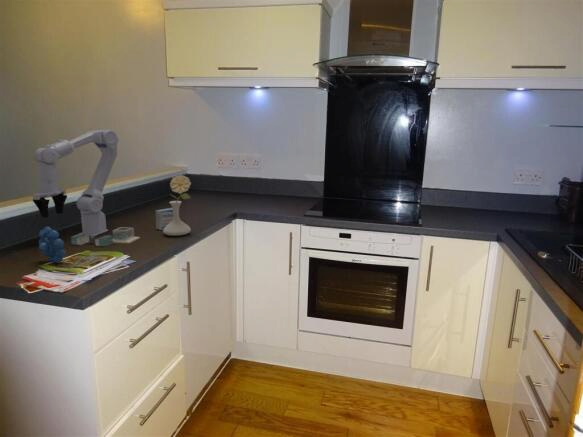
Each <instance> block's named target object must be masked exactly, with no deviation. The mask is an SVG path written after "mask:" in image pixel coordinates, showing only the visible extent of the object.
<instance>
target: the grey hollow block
mask: <svg viewBox="0 0 583 437" xmlns="http://www.w3.org/2000/svg"><path fill="white" fill-rule="evenodd" d="M112 237H113V240H117V241H128V240H130V239H132V238H135V237H136V236H135V228H134V227H129V226H125V227H124V226H120V227H116V228H115V229H112Z"/></svg>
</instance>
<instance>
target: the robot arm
mask: <svg viewBox="0 0 583 437" xmlns="http://www.w3.org/2000/svg"><path fill="white" fill-rule="evenodd" d="M91 143H93V144H94V145H95V146H96V147H97V148H98V150H100V152H101V157H100V158H99V161H98V164H97V166H96V168H95V169H94V170H95V171H94V173H93V175H92V178H91V180H90V182H89V185H88V187H87V188H86V189H85V190H83V192H82V194H81V195H80V196H79V197H78V198H77V199H76V207H77V209H78V210H80V216H81V217H80V220H81V229H82V230H81V231H82V232H79V233H78V234H85V235H89V236H95V237H96V236H99V235H101V234H104V233H106V232H109V229H107V221H106V220H107V219H106V215H105V213H104V212H103V211H102V209H103V208H104V207H103V206H104V205H103V203H104V199H105V197H104V195H103V191H104V189H105V188H104V187H105V185H106V182H107V181H108V179H109V176H110V173H111V171H112V168H113V166H114V163H115V161H116V158H117V155H118V143H119V138H118V135H117V133H116V131H115V130H113V129H99V128H98V129H94V130H90V131H88V132H86V133H83V134H82V135H79V136H77V137H75V138H73V139H71V140H67V139H61V138H60V139H58V140H57V142H54V143H52V144H47V145H46V147H40V148H37V149H36V151H35V153H34V155H33V159H34V161H35V162H36V163H37V167H38V177H39V178H38V179H39V186H40V191H39V192H37V193H33V194H32V202H33V203H34V205H35V206H36V207H37V209H38V212H39V214H40V215H41V218H43V219H44V218H46V219H47V218H49V204H50V201H51V200H50V199H46V198H52V201H53V204H54V208H55V212H56V214H59V215H60V214H62V215H63V212H64V211H63V210H64V206H65V202H66V200H67V198H68V195H67V194H66V193H67V192H66V189H64V188H59V187H58V186H59V185H58V177H57V176H58V175H57V167H56V163H57V161H58V160H59V159H62V158H64V157H67V156H68V155H71V154H73V153H74V150H75V149H77V148H80V147H82V146H84V145H88V144H91Z"/></svg>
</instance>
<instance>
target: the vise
mask: <svg viewBox="0 0 583 437" xmlns="http://www.w3.org/2000/svg"><path fill="white" fill-rule="evenodd" d="M95 237H96V236H89V235H85V234H79V233H77V234H75V235H72V236H70V240H71V242H70V243H71V245H74V246H75V245H76V246H77V245H78V246H82V245H84V244H87V243H89V245H95V246H96V247H107V246H109V245H112V244H114V243H113V234H112V235H111V234H110V235H109V234H108V235H107V234H105V235H104V236H103V235H102V236H101V237H98V238H95Z"/></svg>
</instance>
